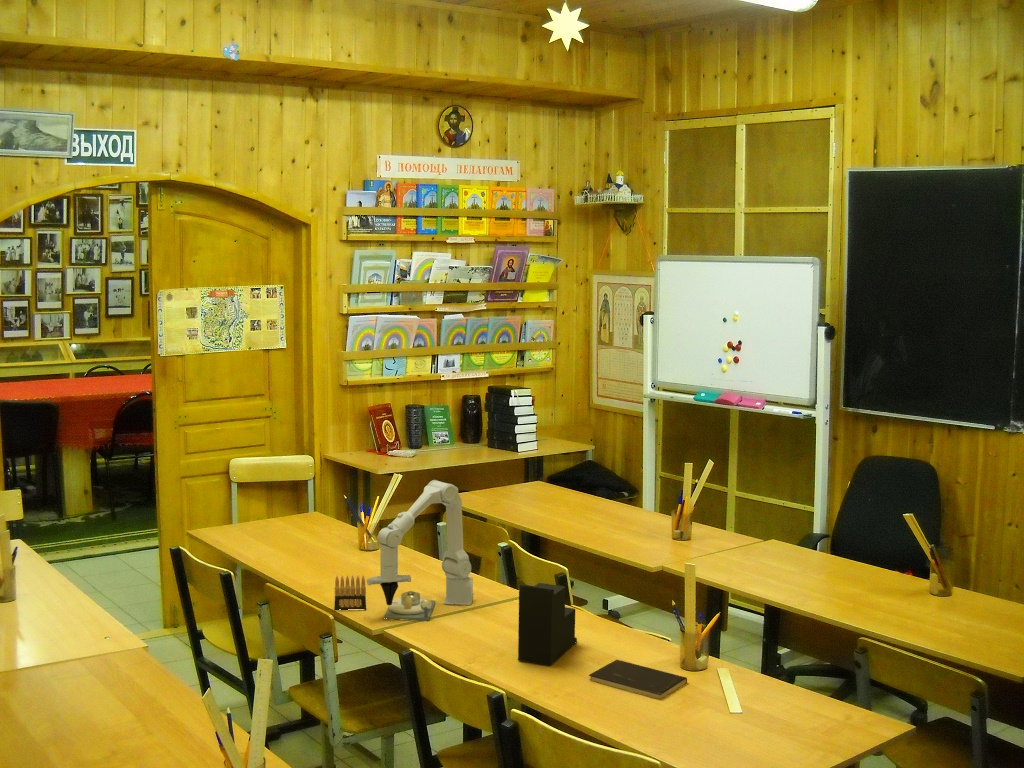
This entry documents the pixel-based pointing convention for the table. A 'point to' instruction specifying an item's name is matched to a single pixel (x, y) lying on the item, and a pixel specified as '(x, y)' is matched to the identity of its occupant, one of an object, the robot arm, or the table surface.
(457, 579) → the robot arm
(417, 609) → the turntable
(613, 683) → the hardcover book
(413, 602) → the cover
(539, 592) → the bookend
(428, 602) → the dial gauge
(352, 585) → the ammunition clip
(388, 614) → the base plate
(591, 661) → the table surface
